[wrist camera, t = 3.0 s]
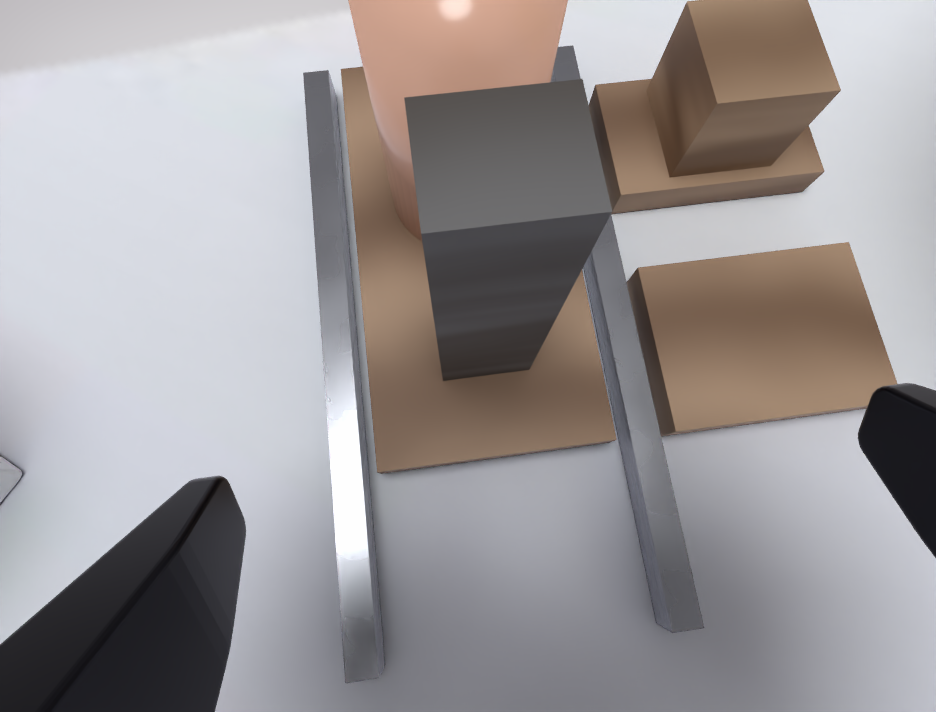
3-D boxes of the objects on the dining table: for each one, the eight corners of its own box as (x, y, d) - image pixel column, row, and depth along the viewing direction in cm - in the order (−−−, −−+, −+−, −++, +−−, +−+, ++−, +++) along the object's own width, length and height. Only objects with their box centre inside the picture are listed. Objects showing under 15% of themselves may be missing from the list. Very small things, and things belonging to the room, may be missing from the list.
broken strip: (873, 407, 20) (903, 400, 19) (661, 436, 20) (676, 431, 18) (768, 89, 24) (787, 64, 22) (587, 109, 23) (595, 84, 22)
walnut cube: (770, 166, 21) (841, 90, 17) (669, 177, 21) (717, 103, 17) (743, 80, 22) (803, -10, 18) (646, 90, 22) (687, 1, 18)
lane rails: (685, 618, 18) (703, 627, 17) (354, 668, 18) (345, 682, 16) (566, 71, 24) (572, 45, 22) (312, 97, 23) (303, 72, 22)
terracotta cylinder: (471, 277, 20) (480, 98, 11) (365, 201, 20) (294, -23, 12) (551, 180, 21) (617, -53, 12) (447, 111, 21) (438, -155, 13)
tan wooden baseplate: (608, 442, 19) (818, 360, 8) (381, 473, 19) (263, 433, 8) (533, 67, 23) (602, -338, 12) (345, 87, 23) (234, -313, 12)
